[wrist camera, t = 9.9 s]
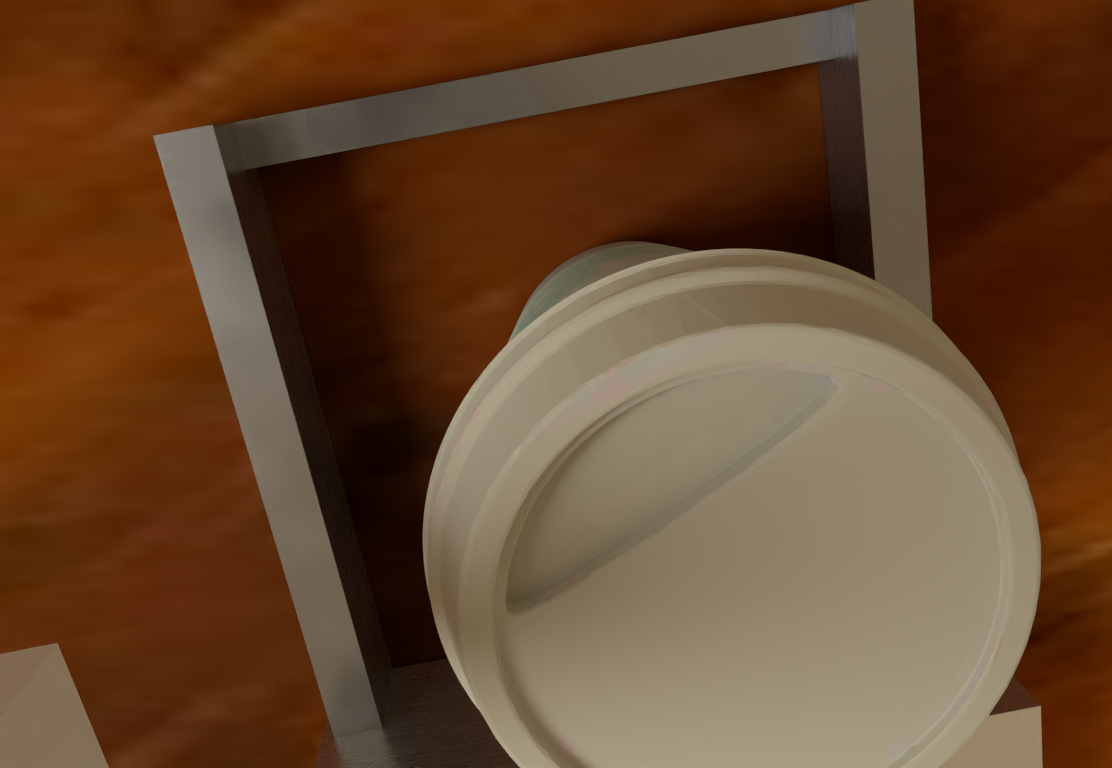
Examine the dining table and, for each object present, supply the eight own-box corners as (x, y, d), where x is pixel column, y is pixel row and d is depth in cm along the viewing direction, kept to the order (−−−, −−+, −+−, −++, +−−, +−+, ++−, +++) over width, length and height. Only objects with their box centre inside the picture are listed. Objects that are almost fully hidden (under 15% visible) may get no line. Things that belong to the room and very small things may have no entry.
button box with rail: (178, 134, 21) (-3, 156, 13) (878, 1, 21) (1095, -52, 13) (420, 957, 28) (390, 1275, 21) (939, 858, 28) (1100, 1138, 21)
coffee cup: (798, 166, 22) (1120, 242, 11) (798, 498, 25) (1059, 849, 13) (435, 197, 22) (364, 310, 10) (473, 530, 24) (451, 916, 13)
